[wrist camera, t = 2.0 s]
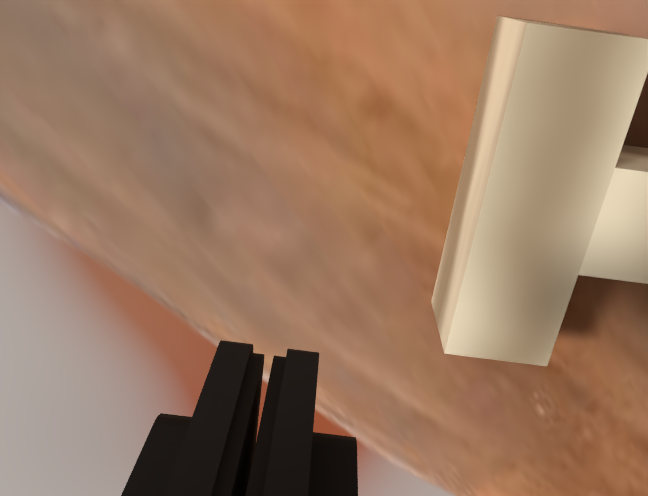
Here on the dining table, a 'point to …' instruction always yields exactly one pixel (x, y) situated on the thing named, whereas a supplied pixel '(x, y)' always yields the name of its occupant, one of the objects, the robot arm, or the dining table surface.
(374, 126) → the dining table surface
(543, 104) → the t block
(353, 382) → the dining table surface
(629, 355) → the dining table surface
